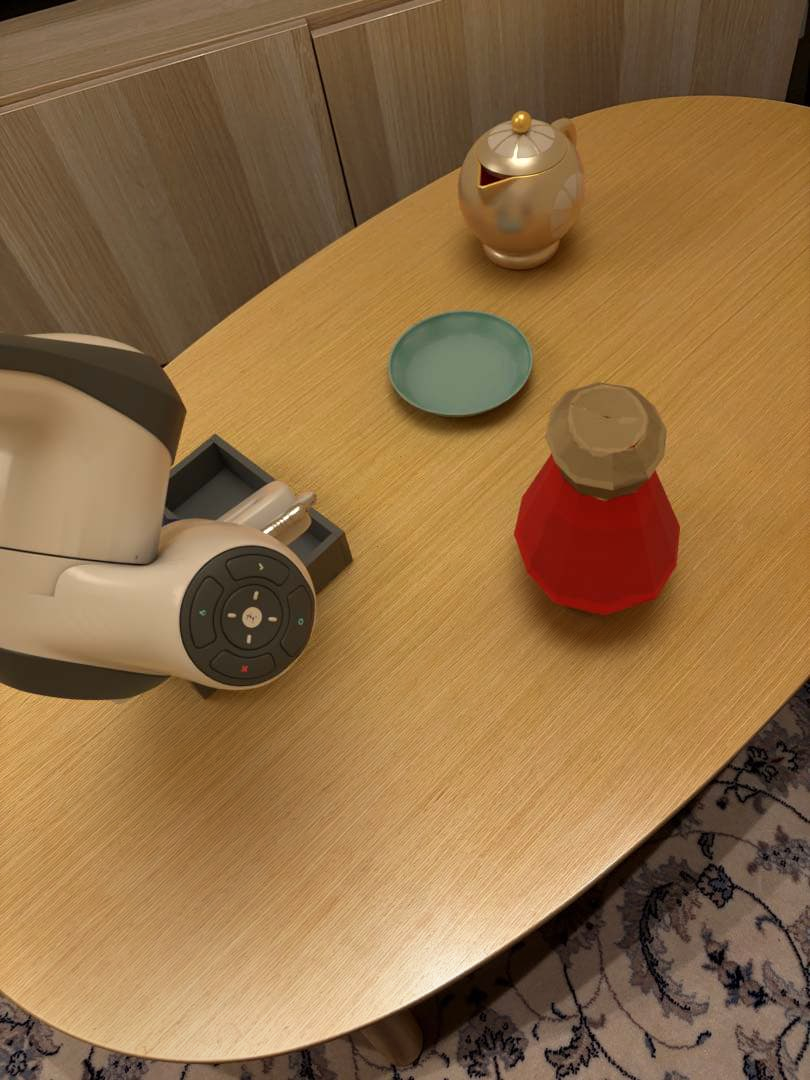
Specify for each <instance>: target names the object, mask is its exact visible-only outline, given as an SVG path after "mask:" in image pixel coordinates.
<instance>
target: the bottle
mask: <svg viewBox="0 0 810 1080" xmlns="http://www.w3.org/2000/svg"><path fill="white" fill-rule="evenodd" d="M545 430H546V431H545V436H544V438H545V441H546V443H547V446H548V448H549V452H550V455H549V456H548V458H547V459H546V461H545V462H544V463H543V465H542V467H541V468H540V470H539V471H538V473H537V474H536V475H535V477H534V478H533V480H532V482H531V483H530V485H529V486H528V488H527V489H526V491H525V492H524V493H523V495H522V496H521V500H520V504H519V509H518V514H517V518H516V522H515V526H514V527H515V528H514V531H513V536H514V538H515V542H516V545H517V547H518V550H519V553H520V556H521V560H522V562H523V566H524V567H525V571H526V573H527V574H528V575H529V576H530V577H531V579H532V580H533V581H534V582H535V583H536V585H538V586H539V587H540V589H541V590H542V591H543V593H545V595H547V596H548V598H549V599H550V600H551V602H553V604H555V605H556V604H557V605H559V606H561V607H565V608H567V609H572V610H574V611H581V612H585V613H587V614H592V615H596V616H597V615H598V616H599V615H600V616H608V615H611V614H614V613H618V612H622V611H624V610H627V609H630V608H634V607H636V606H640V605H642V604H645V603H648V602H651V601H655V600H657V599H658V596H659V595H660V593H661V592H662V591H663V589H664V587H665V585H666V584H667V583H668V581H669V579H670V577H671V576H672V574H673V572H674V571H675V569H676V567H677V564H678V554H679V543H680V533H681V525H680V523H679V520H678V518H677V516H676V513H675V512H674V511H675V510H674V509H673V507H672V504H671V501H670V499H669V497H668V496H667V493H666V491H665V488H664V486H663V484H662V482H661V479H660V477H659V475H658V472H657V470H656V469H657V468H658V466H659V465H660V463H661V462H662V461H663V459H664V457H665V451H666V450H665V449H666V441H667V434H668V433H667V432H668V430H667V428H666V426H665V423H664V421H663V420H662V418H661V416H660V414H659V412H658V409H657V408H656V406H655V405H654V404H653V403H652V402H651V401H650V400H648V399H647V398H646V397H645V396H644V395H643V394H642V393H640V392H639V391H638V390H637V389H636V388H635V387H631V386H625V385H618V384H612V383H607V382H602V381H597V382H594V383H590V384H588V385H584V386H580V387H577V388H575V389H571V390H567V391H565V392H564V393H563V395H562V396H561V397H560V399H558V401H557V402H556V404H555V405H553V408H552V409H551V411H550V412H549V417H548V421H547V426H546V429H545Z"/></svg>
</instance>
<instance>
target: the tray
mask: <svg viewBox="0 0 810 1080" xmlns="http://www.w3.org/2000/svg"><path fill="white" fill-rule="evenodd" d="M274 481H278V480H277V479H276V478H275V477H273V476H272V475H271V474H270V473H268V472H267V471H265V470H264V469H263V468H261V467H260V466H259V465H258V464H256V463H255V462H254V461H252V460H251V459H250V458H248V457H247V456H246V455H244V454H243V453H242V452H241V451H239V450H238V449H237V448H235V447H234V446H233V445H231V444H230V443H229V442H227V441H226V440H224V439H223V438H222V437H221V436H219V435H218V434H217V433H214V434H212V435H211V436H210V437H208V438H207V439H205V441H204V442H202V443H201V444H200V445H199V446H198V447H196V448H195V449H194V450H193V451H191V452H190V453H189V454H188V455H186V456H185V457H184V458H183V459H181V460H180V461H179V462H178V463H177V464H175V465H173V466H172V467H171V470H170V476H169V483H168V489H167V495H166V501H165V508H164V514H165V516H166V518H167V519H179V520H184V519H195V518H197V519H208V520H215V521H216V520H217V519H219V518H220V517H221V516H223V515H224V514H226V513H227V512H228V511H230V510H231V509H233V508H234V507H235V506H237V505H238V504H240V503H241V502H242V501H244V500H245V499H247V498H248V497H249V496H251V495H252V494H254V493H255V492H256V491H258V490H259V489H261V488H262V487H264V486H265V485H267V484H269V483H271V482H274ZM295 495H296V496H297V495H298V494H295ZM308 515H309V516H310V518H311V524H310V526H309V528H308V529H307V530H306V531H305V532H304V533H303V534H301V535H300V536H299V537H298V538H297V539H295V540H294V541H293V542H291V543H290V544H289V545H287V547H288V548H289V549H290V550H291V551H293V552H294V553H295V554H296V556H297V557H298V558H299V559H300V560H301V562H302V563H303V564H304V566H305V567H306V569H307V571H308V573H309V575H310V577H311V580H312V583H313V587H314V591H315V596H317V595H318V594H319V593H320V592H321V591H322V590H323V589H325V588H326V587H327V585H328V584H329V583H331V582H332V581H333V580H334V579H335V578H336V577H337V576H338V575H339V574H340V573H341V572H342V571H344V569H346V567H347V566H349V565H350V564H351V563H352V562H353V560H354V559H353V555H352V551H351V548H350V545H349V542H348V539H347V536H346V531H345V530H343V529H342V528H340V527H339V526H337V524H335V523H334V522H332V521H331V520H330V519H329V518H327V517H326V516H324V515H323V514H321V512H319V511H318V510H316V509H315V508H314V506H312V507H311V508H310V509H308ZM183 680H184V681H185V682H186V683H187V684H188V685H189V686H190V687H191V688H192V689H193V690H194V691H195V692H196V693H197V694H198V695H199V696H200V697H201V698H202V699H203V700H207V699H208V698H209V697H210V696H211V695H212V694H213V693H214V692H215V691H216V690H217V689H218V688H213V687H209V686H205V685H202V684H199V683H196V682H193V681H190V680H186V679H183Z"/></svg>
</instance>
